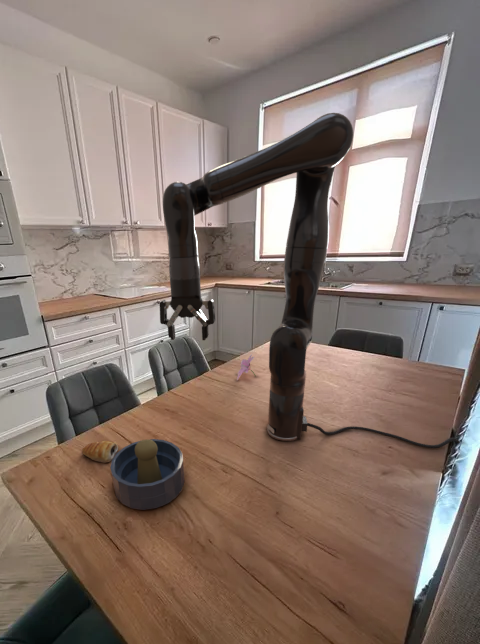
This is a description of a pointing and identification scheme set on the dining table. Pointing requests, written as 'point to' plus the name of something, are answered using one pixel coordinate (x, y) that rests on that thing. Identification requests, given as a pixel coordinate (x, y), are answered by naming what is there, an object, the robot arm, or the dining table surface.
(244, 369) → the lily
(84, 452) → the pastry
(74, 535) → the dining table surface
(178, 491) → the basin
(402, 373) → the dining table surface
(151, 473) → the olive game pawn
